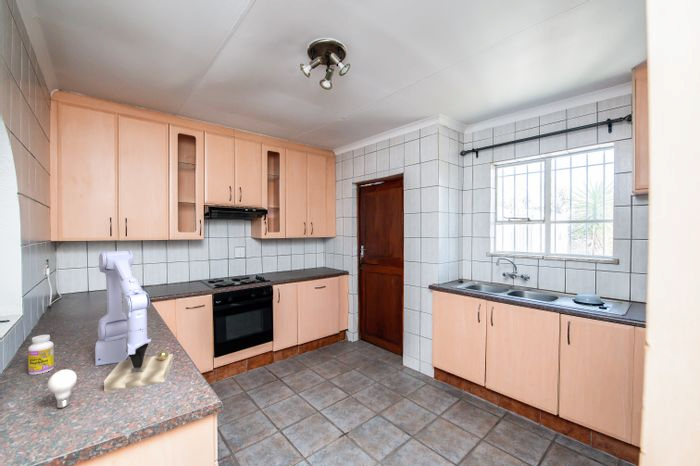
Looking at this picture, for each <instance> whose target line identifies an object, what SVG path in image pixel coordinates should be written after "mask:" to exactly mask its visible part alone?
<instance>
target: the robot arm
mask: <svg viewBox="0 0 700 466" xmlns="http://www.w3.org/2000/svg"><path fill="white" fill-rule="evenodd" d="M134 258H135V257H134V253H133V251H131V250H130V249H129V250H118V251H117V250H116V251H101V252H100V253H99V256H98V269H99V272H100V273H103V274H104V275H105V279H106V280H105V283H106V284H105V286H106V309H107V310H106V312H107V313H106V314H105V315H103V316H102V317H101V318H100V319H99V320H98V326H97V335H98V338H99V339H98V340H97V341H96V343H95V347H94V348H95V349H94V353H95V355H94V356H95V359H94V360H95V364H94V366H101V365H102V366H103V365H110V364H118V363H119V362H120V361H121V360H128V358H129V359H131V361H132V364H133V367H134V368H140V367H141V366H142V364H143V359H144V357H145V354H146V351H147V348H148V347H149V343H151V342H152V338H148V312H147V311H148V310H147V309H149V308H150V303H151V302H150V301H151V300H150V296H149V293H148V292H146V291H145V290H144V289H143V288H142V287H141V283H140V281H139V280H138V278H135V277H134V276H133V271H132V266H133V263H134V260H135V259H134ZM121 291H122V294H123V296H124V308H125V313H123V312H122V295H121ZM122 319H123V320H122Z"/></svg>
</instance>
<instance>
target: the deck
mask: <svg viewBox="0 0 700 466" xmlns="http://www.w3.org/2000/svg"><path fill="white" fill-rule="evenodd" d="M173 354H174V353H168V357H167V358H166V359H165V360H159V359H158V358H157V355H152V356H144V359H143V364H142V366H141V367H140V368H134V367H133V364H132V361H131V358H129V359H126V360H121V361H120V362H119V363H117V365H116V366H115V367H114V368H113V369H112V371H111V372H110V373H109V374H108V375H107V377H106V378H105V379H104V380H103V390H104V391H103V392H110V391H116V390H123V389H130V388H137V387H142V386H147V385H148V386H150V385H155V384H161V383H165V382H166V380H167V377H168V375H169V373H170V371H171V368H172V366H173V364H174V355H173ZM135 370H142V371H143V372H138V373H133V372H134V371H135Z"/></svg>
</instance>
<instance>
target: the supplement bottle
mask: <svg viewBox="0 0 700 466" xmlns="http://www.w3.org/2000/svg"><path fill="white" fill-rule="evenodd" d="M50 340H51V336H50V334H40V335H37V336H33V337H32V338H31V343H32V344H31V345H29V346H28V349H27V353H28V356H27V360H28V361H27V362H28V364H27V365H28V366H27V367H28V369H27V370H28V374H29V376H30V375H31V376H35V375H36V376H37V374H38V375H41V374H42V373H43V374H46V373H48V371H49V372H50V371H53V369H54V368H55V354H54V353H55V346H54V342H53V341H50ZM43 374H42V375H43Z"/></svg>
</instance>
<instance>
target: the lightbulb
mask: <svg viewBox="0 0 700 466" xmlns="http://www.w3.org/2000/svg"><path fill="white" fill-rule="evenodd" d="M77 379H78V375H77V372H76V371H74V370H72V369H70V368H69V369H67V368H65V369H60V370H57V371H56V372H54V373H53V374H52V375H51V376H50V377H49V379H48V381H47V388H48V390H49V391H50V392H51V393H52V394H53V395H54V397H55V399H56V405H57V406H56V407H57V408H58V409H59V408H61V409H63V408H65V407H67V406H69V404H70V395H71V394H72V390H73V388H74V387H75V385H76V383H77V381H78V380H77Z"/></svg>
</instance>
